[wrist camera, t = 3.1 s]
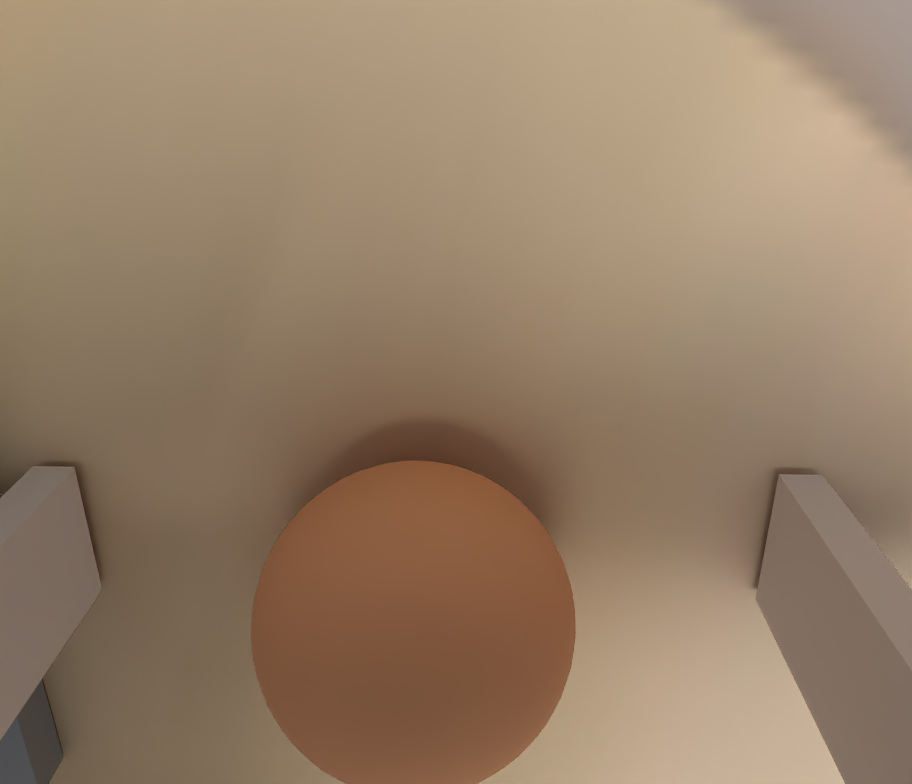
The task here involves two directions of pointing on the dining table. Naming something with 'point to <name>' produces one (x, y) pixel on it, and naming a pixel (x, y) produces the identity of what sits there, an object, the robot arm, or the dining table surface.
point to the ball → (413, 626)
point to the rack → (31, 744)
